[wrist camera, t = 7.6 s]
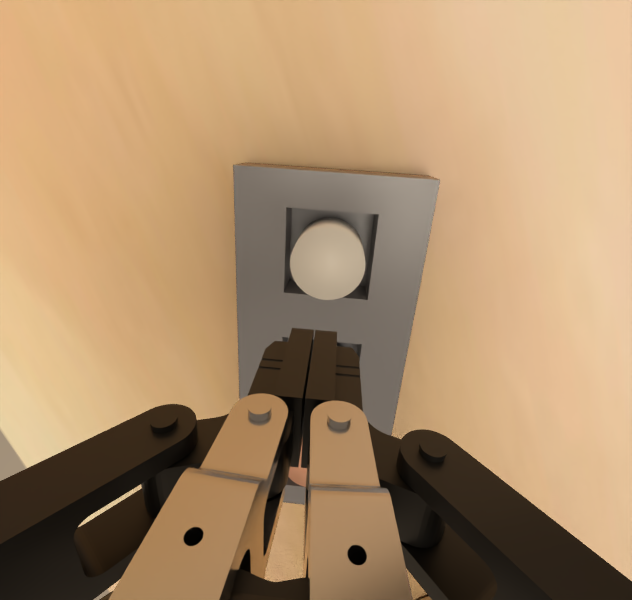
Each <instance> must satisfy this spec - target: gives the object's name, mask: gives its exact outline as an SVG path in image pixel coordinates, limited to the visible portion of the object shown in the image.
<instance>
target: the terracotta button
mask: <svg viewBox="0 0 632 600" xmlns="http://www.w3.org/2000/svg"><path fill="white" fill-rule="evenodd" d="M302 441H303V438H302ZM301 457H302V445H301V452H300V460H299V467H290V470H289V476H288V477H289V478H290V479H291V480H292V481H293V482H295V483H296V484H298V485H300V486H303V487H306V475H307V468H301Z"/></svg>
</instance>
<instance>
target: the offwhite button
mask: <svg viewBox="0 0 632 600" xmlns="http://www.w3.org/2000/svg"><path fill="white" fill-rule="evenodd" d="M290 269H291V273H292V276H293V279H294V281H295V282H296V284H297V285H298V286H299V288H300V289H302V290H303V291H304V292H305V293H306V294H308V295H310V296H312V297H314V298H318V299H322V300H334V299H339V298H342V297H344V296H346V295H348V294H350V293H351V292H352V291H353V290H355V289H356V287H357V286H358V285H359V284H360V282H361V280H362V278H363V276H364V272H365V256H364V250H363V245H362V241H361V238H360V236H359V234H358V233H357V231H356V230H355V229H354V228H353V227H352V226H351V225H350V224H348V223H347V222H345V221H343V220H340V219H337V218H323V219H319V220H316V221H314V222H312V223H311V224H309V225H308V226H307V227H306V228H305V229H304V230H303V231H302V233H301V234H300V236H299V238H298V240H297V242H296V244H295V246H294V248H293V251H292V253H291V258H290Z"/></svg>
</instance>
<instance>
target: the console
mask: <svg viewBox="0 0 632 600" xmlns="http://www.w3.org/2000/svg"><path fill="white" fill-rule="evenodd" d="M233 172H234V209H235V246H236V284H237V321H238V358H239V396H240V399H242V398H244V397H246V396H247V395H248V393H249V390H250V388H251V385H252V382H253V380H254V377H255V374H256V372H257V369H258V368H259V364H260V361H261V360H262V356H263V354H264V351H265V348H267V347H268V346H269V345H270V344H272V343H273V342H274V341H283V342H288V340H289V337H290V333H291V330H292V328H302V329H314V337H315V330H326V331H337V346H339V347H350V348H353V350H354V351H355V352H356V354H357V355H358V356H359V364H360V378H361V392H362V407H363V413H364V414H365V416H366V418H367V421H368V422H369V423H370V424H371V425H372V426H373V427H374V428H376V429H377V430H379V431H381V432H383V433H385V434H387V435H390V436H391V434H392V429H393V424H394V418H395V413H396V408H397V403H398V398H399V392H400V387H401V382H402V377H403V372H404V366H405V361H406V356H407V351H408V346H409V340H410V335H411V330H412V325H413V319H414V314H415V309H416V304H417V299H418V293H419V288H420V283H421V278H422V273H423V267H424V262H425V257H426V252H427V247H428V241H429V236H430V231H431V226H432V220H433V215H434V210H435V205H436V200H437V194H438V189H439V184H440V180H439V179H436V178H434V177H431V176H424V175H410V174H396V173H382V172H368V171H355V170H341V169H327V168H313V167H299V166H285V165H271V164H257V163H242V164H236V165H233ZM323 218H337V219H340V220H343V221H345V222H347V223H348V224H350V225H351V226H352V227H353V228H354V229H355V230H356V231H357V233H358V234H359V236H360V238H361V241H362V245H363V250H364V256H365V272H364V276H363V278H362V280H361V282H360V284H359V285H358V286H357V287H356V289H355V290H353V291H352V292H351V293H350V294H348V295H346V296H344V297H342V298H339V299H334V300H322V299H318V298H314V297H312V296H310V295H308V294H306V293H305V292H304V291H303V290H302V289H300V288H299V286H298V285H297V284H296V282H295V281H294V279H293V276H292V273H291V269H290V258H291V253H292V251H293V248H294V246H295V244H296V242H297V240H298V238H299V236H300V234H301V233H302V231H303V230H304V229H305V228H306V227H307V226H308V225H309V224H311V223H312V222H314V221H316V220H319V219H323ZM313 341H314V338H313ZM305 489H306V487H303V486H300V485H298V484H296V483H295V482H293V481H292V480H291V479H290V478H289V477H288V481H287V484H286V486H285V495H284V499H283V502H286V503H295V504H304V505H305Z"/></svg>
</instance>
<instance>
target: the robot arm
mask: <svg viewBox="0 0 632 600" xmlns="http://www.w3.org/2000/svg"><path fill="white" fill-rule="evenodd" d="M313 338H314V343H313ZM302 438H303V441H302ZM301 445H302V457H301V468H307V475H306V489H305V511H304V548H303V578H299V579H293V580H287V581H282V582H270V581H267V580H265V579H264V577H265V571H266V566H267V562H268V558H269V554H270V550H271V546H272V542H273V538H274V534H275V530H276V527H277V523H278V519H279V515H280V511H281V507H282V503H283V499H284V495H285V486H286V484H287V481H288V476H289V470H290V467H299V460H300V452H301ZM140 484H141V486H142V489H140V490H139V491H137V492H135V493H134V494H132V495H131V496H129V497H127V498H126V499H124V500H123V501H121V502H119V503H118V504H116V505H115V506H113V507H111V508H110V509H108V510H106V511H105V512H103V513H102V514H100V515H98V516H97V517H95V518H94V519H92V520H90V521H89V522H87V523H86V524H84V525H82V526H80V527H78V526H79V525H80V524H81V522H82V521H83V520H84V519H86V518H87V517H88V516H90V515H91V514H93V513H94V512H96V511H98V510H99V509H101V508H102V507H104V506H106V505H107V504H109V503H111V502H112V501H114V500H116V499H117V498H119V497H120V496H122V495H124V494H125V493H127V492H129V491H130V490H132V489H134V488H135V487H137V486H138V485H140ZM77 527H78V528H77ZM406 568H407V569H408V571H409V572H410V573H411V574H412V576H413V577H414V578H415V579H416V581H417V582H418V583H419V584H420V586H421V587H422V588H423V589H424V590H425V592H426V593H427V594H428V595H429V596H428V597H425V598H422V599H420V600H632V581H630V580H629V579H628V578H627V577H625V576H624V575H623V574H621V573H620V572H619V571H618V570H616V569H615V568H614V567H612V566H611V565H610V564H609V563H607V562H606V561H605V560H604V559H602V558H601V557H600V556H598V555H597V554H596V553H595V552H593V551H592V550H591V549H590V548H588V547H587V546H586V545H584V544H583V543H582V542H581V541H579V540H578V539H577V538H575V537H574V536H573V535H572V534H570V533H569V532H568V531H567V530H565V529H564V528H563V527H561V526H560V525H559V524H558V523H556V522H555V521H554V520H553V519H551V518H550V517H549V516H547V515H546V514H545V513H544V512H542V511H541V510H540V509H538V508H537V507H536V506H535V505H533V504H532V503H531V502H530V501H528V500H527V499H526V498H524V497H523V496H522V495H521V494H519V493H518V492H517V491H515V490H514V489H513V488H512V487H510V486H509V485H508V484H507V483H505V482H504V481H503V480H501V479H500V478H499V477H498V476H496V475H495V474H494V473H493V472H491V471H490V470H489V469H487V468H486V467H485V466H484V465H482V464H481V463H480V462H478V461H477V460H476V459H475V458H473V457H472V456H471V455H470V454H468V453H467V452H466V451H464V450H463V449H462V448H461V447H459V446H458V445H457V444H455V443H454V442H453V441H452V440H450V439H449V438H447V437H446V436H444V435H442V434H440V433H437V432H434V431H430V430H414V431H411V432H409V433H407V434H406V435H405V436H404V437H403V438H402V440H401V439H398V438H395V437H393V436H390V435H387V434H385V433H383V432H381V431H379V430H377V429H376V428H374V427H373V426H372V425H371V424H370V423H369V422H368V421H367V418H366V416H365V414H364V413H363V407H362V392H361V378H360V364H359V356H358V355H357V354H356V352H355V351H354V350H353V348H350V347H339V346H337V331H326V330H315V337H314V329H302V328H292V330H291V333H290V337H289V340H288V342H283V341H274V342H273V343H272V344H270V345H269V346H268V347H267V348H265V351H264V354H263V356H262V360H261V361H260V364H259V368H258V369H257V372H256V374H255V377H254V380H253V382H252V385H251V388H250V390H249V393H248V395H247V396H246V397H244V398H242V399H240V400H239V401H237V402H236V403H235V405H234V406H233V407H232V409H231V411H230V413H229V414H227V415H225V416H221V417H216V418H210V419H203V420H196V415H195V413H194V412H193V411H192V410H191V409H190V408H188V407H186V406H183V405H178V404H168V405H162V406H158V407H155V408H153V409H150V410H148V411H146V412H144V413H142V414H140V415H138V416H136V417H134V418H132V419H130V420H127V421H125V422H123V423H121V424H119V425H117V426H115V427H113V428H111V429H109V430H107V431H104V432H102V433H100V434H98V435H96V436H94V437H92V438H90V439H88V440H86V441H84V442H81V443H79V444H77V445H75V446H73V447H71V448H69V449H67V450H65V451H63V452H61V453H58V454H56V455H54V456H52V457H50V458H48V459H46V460H44V461H42V462H40V463H37V464H35V465H33V466H31V467H29V468H27V469H25V470H23V471H21V472H19V473H17V474H15V475H12V476H10V477H8V478H6V479H4V480H2V481H0V600H93V599H94V598H96V597H97V596H99V595H100V594H101V593H102V592H104V591H105V590H106V589H108V588H109V587H110V586H112V585H113V584H114V583H116V582H117V581H118V580H119V579H120V581H119V583H118V584H117V586H116V588H115V589H114V591H112V592H110V593H109V594H107V595H106V596H104V597H103V598H101V599H100V600H413V598H412V593H411V589H410V584H409V579H408V575H407V570H406Z"/></svg>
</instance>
